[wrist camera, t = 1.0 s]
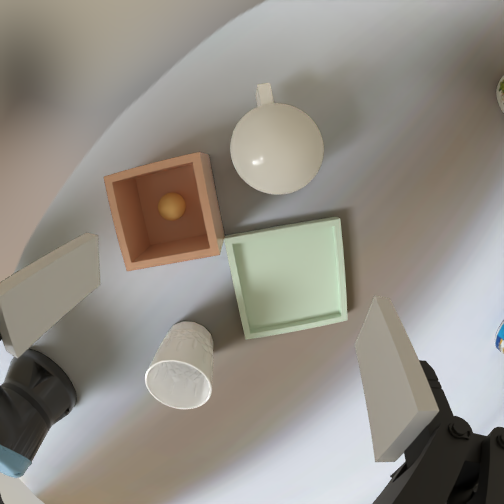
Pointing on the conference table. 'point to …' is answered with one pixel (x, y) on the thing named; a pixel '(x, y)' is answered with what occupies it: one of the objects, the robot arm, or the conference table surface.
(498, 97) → the pitcher
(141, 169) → the planter
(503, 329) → the beverage bottle
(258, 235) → the tray
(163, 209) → the ball
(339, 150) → the conference table surface
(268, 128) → the mug
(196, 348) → the white cup
